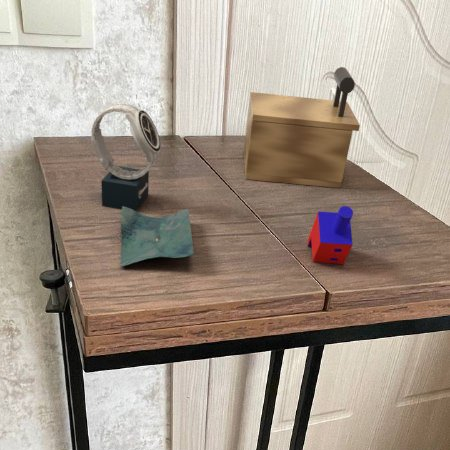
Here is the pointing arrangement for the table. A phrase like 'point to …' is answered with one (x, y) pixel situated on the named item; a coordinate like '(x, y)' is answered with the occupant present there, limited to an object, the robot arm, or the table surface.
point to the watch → (122, 176)
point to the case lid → (308, 107)
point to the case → (295, 153)
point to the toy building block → (331, 236)
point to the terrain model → (154, 236)
